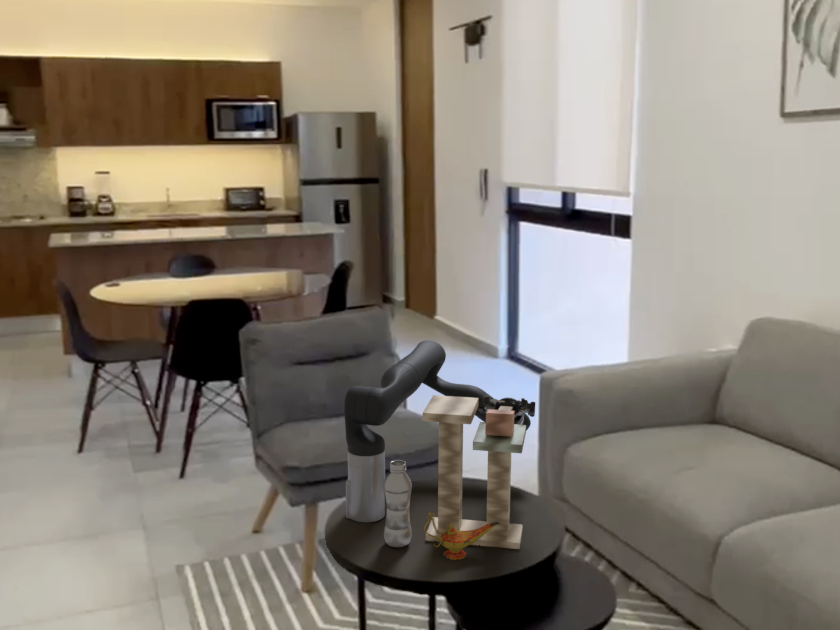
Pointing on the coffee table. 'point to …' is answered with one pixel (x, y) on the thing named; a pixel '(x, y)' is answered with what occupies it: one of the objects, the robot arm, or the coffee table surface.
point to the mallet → (500, 421)
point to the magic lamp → (458, 538)
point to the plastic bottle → (397, 505)
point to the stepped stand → (450, 467)
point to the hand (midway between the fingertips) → (504, 400)
